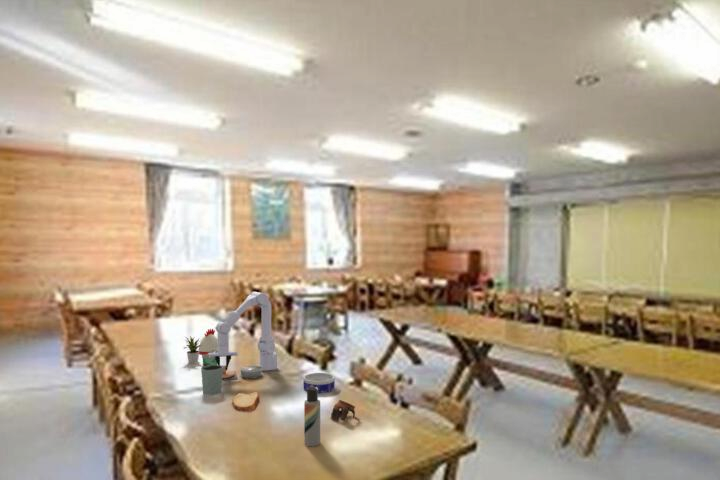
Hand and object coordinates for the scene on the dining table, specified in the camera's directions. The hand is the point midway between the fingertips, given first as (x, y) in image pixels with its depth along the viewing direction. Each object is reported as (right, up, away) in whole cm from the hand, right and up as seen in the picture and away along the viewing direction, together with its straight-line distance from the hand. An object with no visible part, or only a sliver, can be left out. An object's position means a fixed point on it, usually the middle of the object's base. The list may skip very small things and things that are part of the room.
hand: (223, 370), depth 261 cm
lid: (0, -3, 0) cm, 3 cm away
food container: (-10, -4, +15) cm, 18 cm away
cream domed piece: (-25, -4, +59) cm, 64 cm away
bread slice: (+23, -4, -41) cm, 47 cm away
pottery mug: (+66, -4, -61) cm, 90 cm away
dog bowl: (+53, -4, -20) cm, 56 cm away
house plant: (-28, -4, +32) cm, 43 cm away
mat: (-1, -4, +1) cm, 4 cm away
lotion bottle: (+56, -4, -85) cm, 102 cm away
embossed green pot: (+2, -4, -26) cm, 26 cm away
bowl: (+14, -4, +3) cm, 15 cm away
